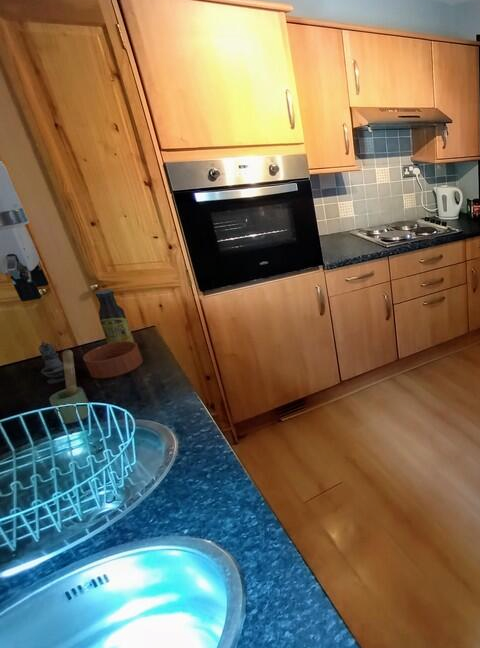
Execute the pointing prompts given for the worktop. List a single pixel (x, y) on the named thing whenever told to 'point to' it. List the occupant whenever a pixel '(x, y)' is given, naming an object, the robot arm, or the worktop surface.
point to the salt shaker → (52, 364)
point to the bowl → (113, 359)
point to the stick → (69, 372)
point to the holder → (70, 412)
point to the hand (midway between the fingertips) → (36, 292)
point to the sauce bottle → (113, 318)
